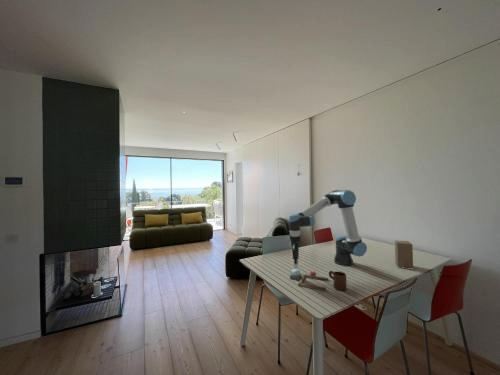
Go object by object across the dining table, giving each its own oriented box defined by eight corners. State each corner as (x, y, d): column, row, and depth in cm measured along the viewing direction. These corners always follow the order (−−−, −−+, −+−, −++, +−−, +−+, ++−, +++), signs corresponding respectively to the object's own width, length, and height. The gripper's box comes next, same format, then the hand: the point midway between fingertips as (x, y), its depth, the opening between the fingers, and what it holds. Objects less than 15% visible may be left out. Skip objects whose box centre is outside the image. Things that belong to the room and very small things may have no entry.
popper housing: (292, 274, 153) (292, 272, 153) (301, 276, 150) (301, 273, 150) (289, 278, 146) (289, 275, 147) (299, 280, 143) (299, 277, 144)
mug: (325, 285, 135) (325, 270, 136) (332, 282, 139) (332, 268, 140) (341, 292, 125) (341, 277, 125) (349, 289, 129) (348, 274, 129)
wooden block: (395, 263, 172) (394, 240, 173) (410, 265, 168) (409, 241, 168) (397, 267, 163) (397, 242, 164) (413, 269, 159) (412, 244, 159)
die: (310, 275, 152) (309, 269, 152) (314, 275, 151) (314, 269, 151) (310, 277, 148) (310, 271, 148) (315, 277, 148) (315, 271, 148)
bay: (303, 276, 150) (303, 274, 150) (328, 280, 143) (328, 278, 143) (298, 285, 135) (298, 283, 135) (326, 290, 127) (326, 288, 127)
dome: (292, 272, 152) (292, 268, 152) (300, 273, 150) (300, 269, 150) (290, 275, 147) (290, 271, 147) (299, 276, 144) (298, 272, 144)
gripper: (292, 233, 156) (293, 264, 156) (287, 237, 145) (288, 270, 144) (301, 234, 153) (303, 265, 153) (298, 238, 141) (299, 271, 141)
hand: (296, 267), depth 148 cm, fingers closed
